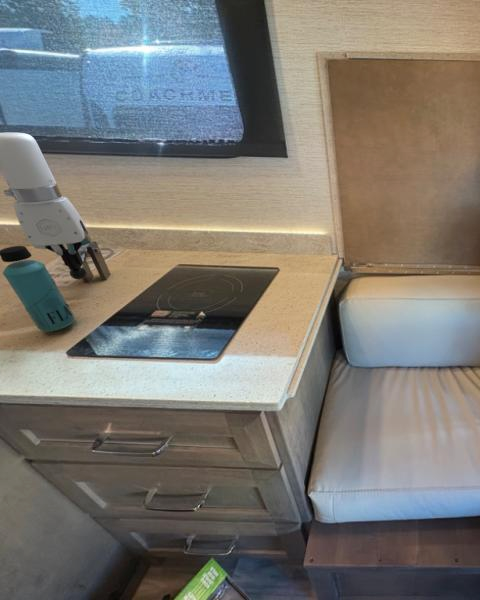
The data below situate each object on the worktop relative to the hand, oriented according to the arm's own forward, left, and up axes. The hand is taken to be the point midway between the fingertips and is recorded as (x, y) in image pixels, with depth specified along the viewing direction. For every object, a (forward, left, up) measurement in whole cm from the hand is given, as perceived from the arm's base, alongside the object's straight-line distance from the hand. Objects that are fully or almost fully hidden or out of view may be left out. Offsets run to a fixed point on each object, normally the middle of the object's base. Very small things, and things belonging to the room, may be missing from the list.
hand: (76, 267), depth 84 cm
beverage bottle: (-2, -14, -9) cm, 17 cm away
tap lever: (0, +5, -2) cm, 5 cm away
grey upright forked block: (0, +9, -9) cm, 12 cm away
